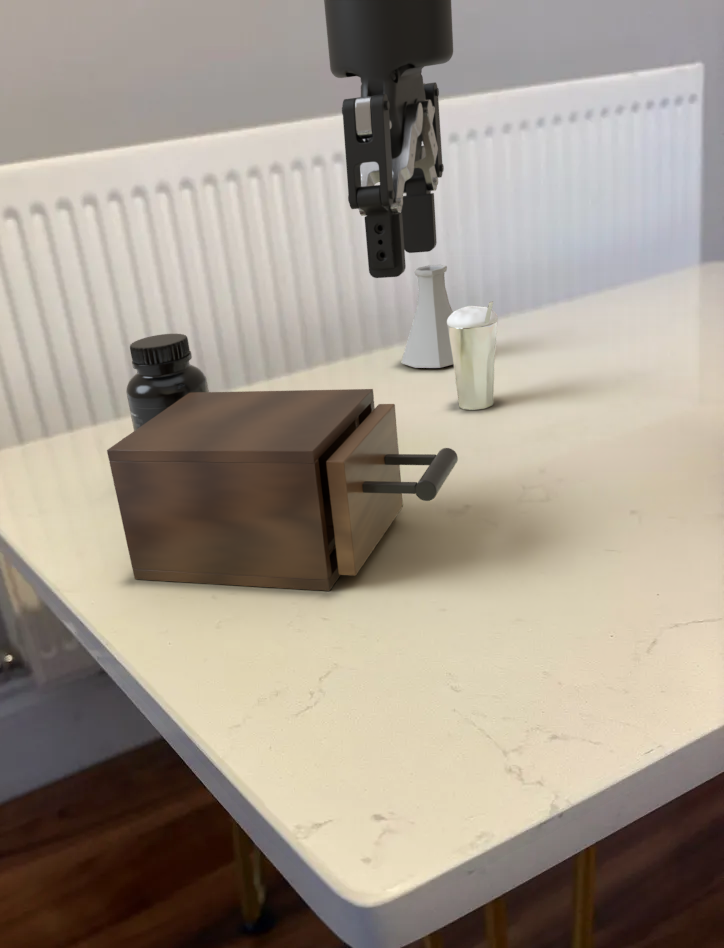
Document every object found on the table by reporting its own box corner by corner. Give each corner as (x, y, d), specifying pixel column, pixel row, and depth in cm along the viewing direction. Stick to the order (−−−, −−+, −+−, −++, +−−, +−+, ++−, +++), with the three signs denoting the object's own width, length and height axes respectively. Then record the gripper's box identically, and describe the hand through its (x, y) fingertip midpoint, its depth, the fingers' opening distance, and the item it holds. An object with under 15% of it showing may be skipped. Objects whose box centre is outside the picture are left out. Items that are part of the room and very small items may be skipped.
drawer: (469, 508, 73) (464, 402, 70) (430, 580, 64) (422, 462, 61) (236, 502, 80) (221, 405, 77) (170, 566, 71) (150, 459, 68)
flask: (389, 366, 113) (381, 273, 109) (431, 349, 117) (426, 259, 113) (441, 373, 108) (435, 276, 104) (483, 355, 112) (479, 261, 108)
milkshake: (474, 417, 94) (469, 307, 89) (442, 405, 98) (436, 299, 94) (515, 406, 95) (512, 296, 91) (482, 394, 100) (478, 289, 95)
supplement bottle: (139, 473, 92) (112, 340, 87) (213, 457, 93) (191, 325, 88) (150, 497, 86) (122, 356, 81) (229, 480, 87) (206, 340, 82)
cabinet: (384, 514, 77) (373, 388, 72) (329, 591, 67) (312, 451, 62) (209, 508, 82) (189, 392, 78) (134, 579, 72) (106, 450, 68)
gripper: (418, -34, 54) (436, 283, 61) (472, -26, 65) (481, 240, 73) (285, -10, 57) (317, 290, 64) (360, -6, 68) (379, 247, 75)
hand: (404, 263), depth 68 cm, fingers open, 8 cm apart
